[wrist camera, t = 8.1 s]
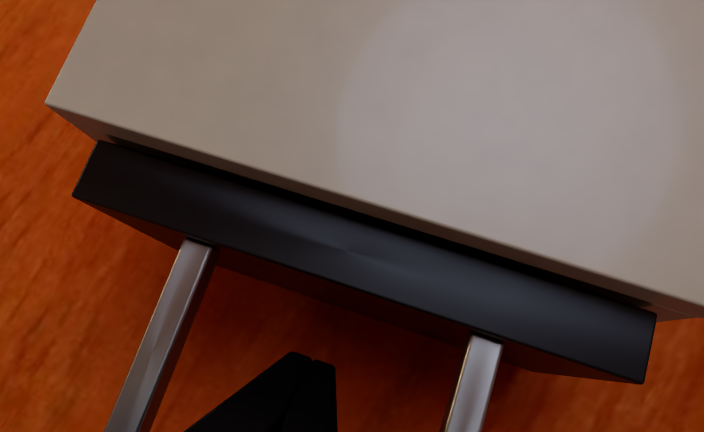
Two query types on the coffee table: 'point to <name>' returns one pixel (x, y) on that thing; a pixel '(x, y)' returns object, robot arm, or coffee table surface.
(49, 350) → the coffee table surface
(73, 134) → the coffee table surface
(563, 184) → the grey drawer unit
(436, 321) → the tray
